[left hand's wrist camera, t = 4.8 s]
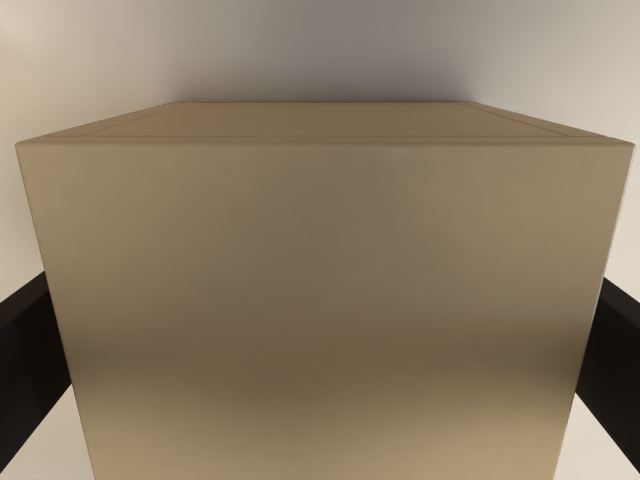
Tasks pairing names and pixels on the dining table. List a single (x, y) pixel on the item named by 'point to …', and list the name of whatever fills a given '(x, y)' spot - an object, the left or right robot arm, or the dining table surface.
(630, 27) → the dining table surface
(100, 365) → the tan cardboard box
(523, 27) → the dining table surface
